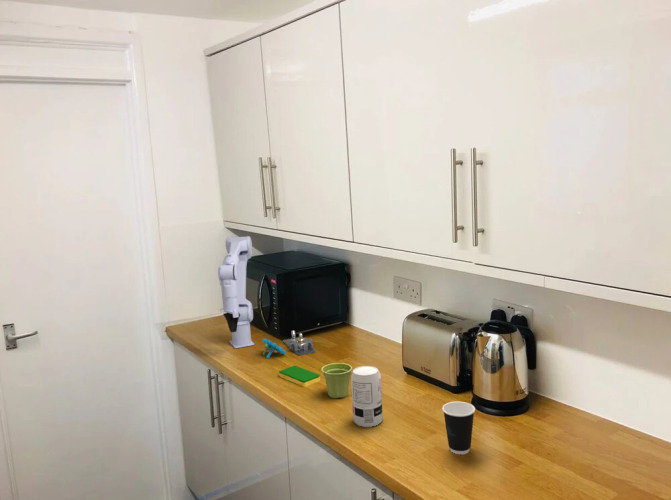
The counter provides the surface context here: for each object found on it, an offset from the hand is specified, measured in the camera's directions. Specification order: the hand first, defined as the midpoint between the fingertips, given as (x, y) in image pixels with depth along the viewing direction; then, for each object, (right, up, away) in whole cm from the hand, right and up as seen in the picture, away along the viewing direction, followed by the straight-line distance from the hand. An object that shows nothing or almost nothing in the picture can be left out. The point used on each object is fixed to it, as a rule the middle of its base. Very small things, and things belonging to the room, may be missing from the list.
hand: (233, 331), depth 222 cm
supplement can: (+48, -17, -57) cm, 76 cm away
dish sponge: (+26, -13, -23) cm, 37 cm away
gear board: (+24, -7, +8) cm, 27 cm away
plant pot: (+39, -15, -38) cm, 57 cm away
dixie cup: (+69, -19, -75) cm, 104 cm away
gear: (+15, -9, 0) cm, 18 cm away
